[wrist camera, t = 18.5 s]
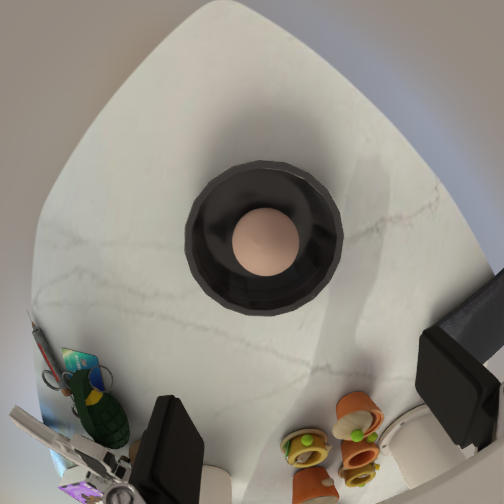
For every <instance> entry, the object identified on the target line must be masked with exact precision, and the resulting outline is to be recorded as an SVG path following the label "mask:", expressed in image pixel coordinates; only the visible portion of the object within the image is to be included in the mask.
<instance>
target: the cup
mask: <svg viewBox="0 0 504 504" xmlns="http://www.w3.org/2000/svg"><path fill="white" fill-rule="evenodd" d="M199 504H232V485H231V477H230V475H229V474H228V473H227V472H226V471H224V470H223V469H220V468H218V467H214V466H209V465H203V467H202V477H201V487H200V498H199Z"/></svg>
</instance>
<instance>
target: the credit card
mask: <svg viewBox="0 0 504 504" xmlns="http://www.w3.org/2000/svg"><path fill="white" fill-rule="evenodd" d="M62 353H63V357H64V361H65V364H66V368H67V370H68V371H72V372H74V373H75V371H76V370H79V369H92V368H93V367H94V366H97V365H99V364H98V359H97V357H96V356H94V355H89V354H85V353H81V352H77V351H73V350H69V349H65V348H63V349H62ZM68 375H69V378H70V379H71V377H72V376H73V375H71V374H68ZM88 378H89V377H88ZM90 382H91V384H92V386H93V387H95V388H97V389H99V390H100V391H105V390H104V386H103V382H102V377H101V373H100V369H99V367H95V368H94V369H93V370H92V371H91V373H90Z"/></svg>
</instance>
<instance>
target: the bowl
mask: <svg viewBox="0 0 504 504" xmlns="http://www.w3.org/2000/svg"><path fill="white" fill-rule="evenodd" d="M259 208H272V209H276V210H278V211H280V212H282V213H283V214H285V215H287V216H288V217H289V219H290V220H291V221H292V222H293V224H294V225H295V227H296V229H297V232H298V235H299V250H298V253H297V256H296V258H295V260H294V262H293V263H292V264H291V265H290V266H289V267H288V268H287V269H286V270H284V271H283V272H281V273H278V274H276V275H272V276H260V275H256V274H253V273H251V272H250V271H248V270H246V269H245V268H244V267H243V266H242V265H241V264H240V263H239V261H238V260H237V258H236V256H235V254H234V251H233V246H232V237H233V232H234V229H235V227H236V225H237V223H238V222H239V220H240V219H241V218H242V217H243V216H244V215H245V214H247V213H248V212H250V211H252V210H255V209H259ZM343 238H344V234H343V228H342V222H341V217H340V212H339V210H338V208H337V206H336V204H335V202H334V201H333V199H332V197H331V195H330V193H329V192H328V191H327V189H326V188H325V187H324V186H323V185H322V184H321V183H320V182H318V181H317V180H316V179H315V178H314V177H313V176H312V175H311V174H310V173H308V172H306V171H304V170H301V169H299V168H297V167H294V166H292V165H290V164H288V163H285V162H274V161H262V160H259V161H254V162H249V163H245V164H241V165H237V166H234V167H231V168H230V169H228V170H227V171H225V172H224V173H222V174H220V175H219V176H217V177H216V178H214V179H213V180H211V181H210V182H209V183H208V184H207V186H206V187H205V188H204V189H203V191H202V192H201V193H200V194H199V196H198V197H197V198H196V199H195V201H194V203H193V205H192V208H191V210H190V213H189V216H188V219H187V222H186V224H185V246H184V251H185V255H186V258H187V261H188V264H189V267H190V270H191V273H192V276H193V277H194V278H195V280H196V281H197V282H198V284H199V285H200V287H201V288H202V289H203V291H204V292H205V293H206V294H207V295H208V296H209V297H211V298H212V299H213V300H215V301H216V302H218V303H219V304H220V305H222V306H223V307H225V308H226V309H229V310H232V311H235V312H238V313H241V314H244V315H248V316H276V315H280V314H283V313H287V312H291V311H294V310H296V309H298V308H299V307H301V306H303V305H304V304H306V303H308V302H309V301H311V300H313V299H314V298H315V297H316V296H317V295H318V294H319V293H320V292H321V291H322V290H323V288H324V287H325V286H326V285H327V284H328V283H329V282H330V280H331V278H332V276H333V274H334V272H335V270H336V268H337V266H338V264H339V262H340V259H341V252H342V245H343Z"/></svg>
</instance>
